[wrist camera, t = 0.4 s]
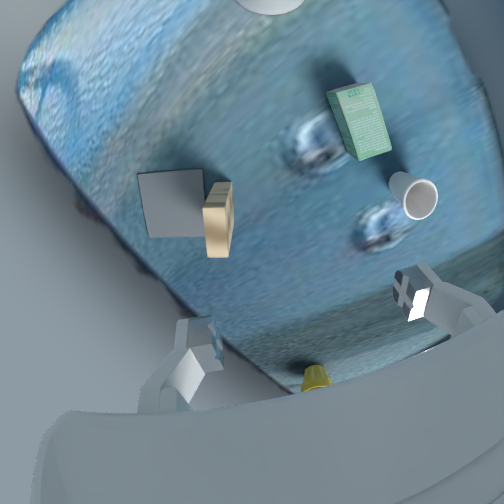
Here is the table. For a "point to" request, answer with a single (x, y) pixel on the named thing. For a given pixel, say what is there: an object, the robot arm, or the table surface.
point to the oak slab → (219, 219)
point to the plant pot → (315, 378)
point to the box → (359, 120)
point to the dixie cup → (414, 194)
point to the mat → (173, 203)
